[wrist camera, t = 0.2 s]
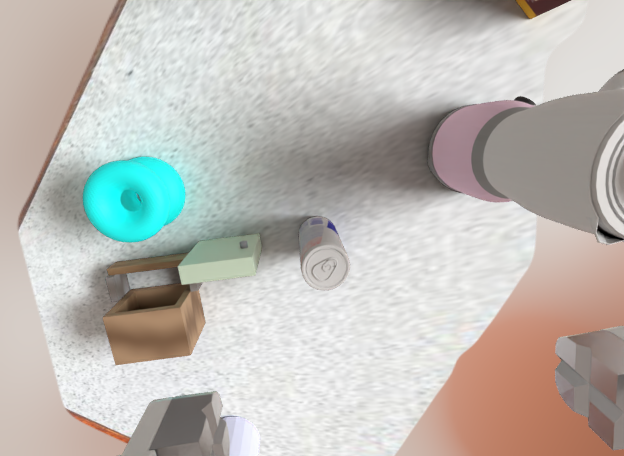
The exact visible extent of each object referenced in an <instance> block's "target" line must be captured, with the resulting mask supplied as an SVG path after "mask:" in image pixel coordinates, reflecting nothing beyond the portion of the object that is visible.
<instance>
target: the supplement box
mask: <svg viewBox="0 0 624 456" xmlns="http://www.w3.org/2000/svg"><path fill="white" fill-rule="evenodd" d="M568 1H571V0H516V2H517V3H518V4H519V6H520V7H521V8H522V10H523V11H524V12H525V14H526V15H527V16H528V18H529V19H532V18H534V17H536V16H538V15H540V14H543V13H545V12H547V11H549V10H551V9H554V8H556V7H558V6H560V5H562V4H564V3H566V2H568Z"/></svg>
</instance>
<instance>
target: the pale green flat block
mask: <svg viewBox="0 0 624 456" xmlns="http://www.w3.org/2000/svg"><path fill="white" fill-rule="evenodd" d="M261 251H262V245H261V239H260V233H258V234H250V235H242V236H234V237H226V238H218V239H210V240H202V241H199V242H198V243H197V244H196V245H195V246H194V248H193V249H192V250H191V251H190V252H189V254H188V255H187V256H186V257H185V258H184V259H183V261H182V262H181V263H180V264H179V265H178V270H179V275H180V279H181V284H182V285H184V284H192V283H200V282H208V281H215V280H223V279H231V278H239V277H247V276H254V275H255V274H256V270H257V266H258V262H259V259H260V255H261Z"/></svg>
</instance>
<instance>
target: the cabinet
mask: <svg viewBox="0 0 624 456" xmlns="http://www.w3.org/2000/svg"><path fill="white" fill-rule="evenodd" d="M188 254H189V253H183V254H175V255H167V256H159V257H151V258H144V259H136V260H128V261H120V262H116V263H114V264H113V265H112V266H110V267H109V268H108V269H107V272H108V275H109V276H107V277H106V278H105V279H106V283H107V287H108V290H109V294H110V298H111V302H115V301H119V300H120V299H121V298H122V297H123V296H124V295H125V294H126V293H127V292H128V291H129V290H130V287H129V283H128V279H127V275H126V273H133V272H141V271H149V270H157V269H165V268H173V267H178V265H179V264H180V263H181V262H182V261H183V259H184V258H185V257H186V256H187V255H188ZM202 283H203V282H200V283H192V284H184V285H182V284H181V283H178V284H171V285H163V286H155V287H147V288H139V289H132V290H130V291H129V292H128V293H127V294H126V295H125V296H124V297H123V298H122V299H121V300H120V301H119V302H118V303H117V304H116V305H115V306H114V307H113V308H112V309H111V310H110V311H109V312H108V313H107V314H106V315H105V316H104V317H103V321H104V325H105V328H106V332H107V336H108V339H109V343H110V346H111V350H112V353H113V357H114V361H115V364H116V365H121V364H128V363H136V362H143V361H151V360H158V359H166V358H174V357H181V356H189V355H191V354H192V351H193V349H194V347H195V345H196V343H197V340H198V338H199V336H200V334H201V331H202V329H203V327H204V325H205V318H204V313H203V308H202V303H201V298H200V294H199V288H200V286H201V285H202Z"/></svg>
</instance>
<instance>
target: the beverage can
mask: <svg viewBox="0 0 624 456" xmlns="http://www.w3.org/2000/svg"><path fill="white" fill-rule="evenodd" d="M299 247H300V262H301V271H302V274H303V277H304V279H305V281H306V282H307V283H308V284H309V285H310V286H311V287H313V288H315V289H317V290H324V291H325V290H331V289H334V288H336V287H338V286H340V285H341V284H342V283H343V282H344V281H345V280H346V278H347V276H348V274H349V271H350V262H349V258H348V255H347V253H346V251H345V249H344V246H343V244H342V242H341V240H340V238H339V235H338V233H337V231H336V229H335V226H334V225H333V223H332V222H331V221H330V220H328V219H327V218H324V217H320V216H315V217H311V218H309V219H307V220H306V221H305V222H304V223H303V224H302V225H301V227H300V229H299Z"/></svg>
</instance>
